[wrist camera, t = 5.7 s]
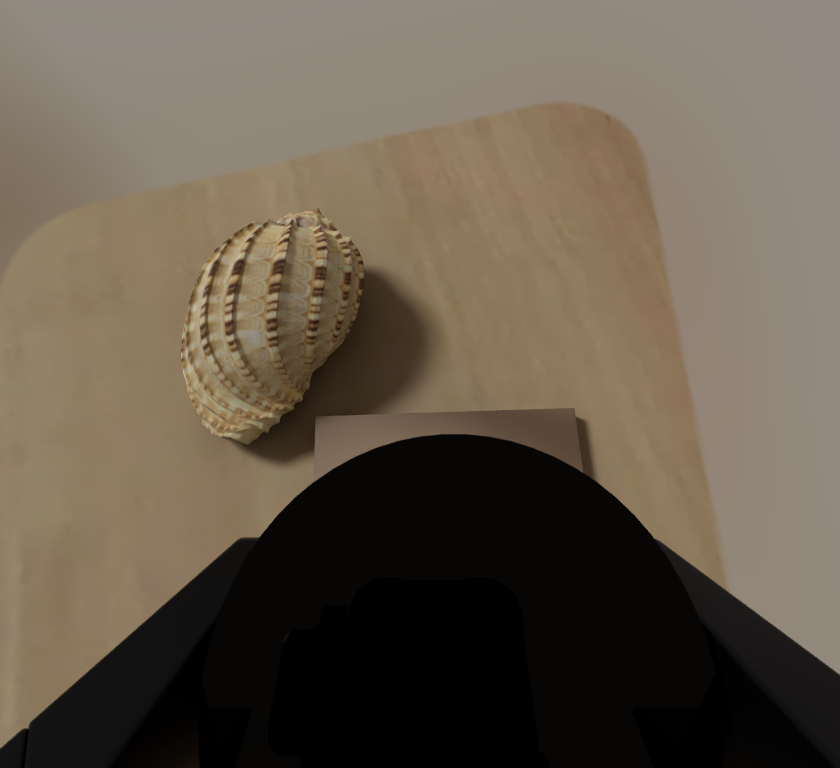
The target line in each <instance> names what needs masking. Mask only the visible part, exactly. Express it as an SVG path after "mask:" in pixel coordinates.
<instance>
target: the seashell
mask: <svg viewBox="0 0 840 768" xmlns="http://www.w3.org/2000/svg"><path fill="white" fill-rule="evenodd" d="M363 285H364V265H363V261H362V257H361V255H360V253H359V251H358V249H357V247H356V246H355V245H354V244H353V242H352V241H351V239H350V237H344V236H341V235H340V230H339V231H338V230H337V229H336V227H335V226H334V224H333V222H332V221H328V219H327V218H325V217H324V216H323V215H322V214H321V212H320V210H319V208H317V209H314V210H312V211H306V212H302V213H301V214H300V213H297V214H295V215H294V214H292V213H291V212H290V213H289V214H288V215H287V216H285V217H283V218H282V219H280V220H279V221H277V222H273V221H271V220H270V219H269V218H268V220H267V221H266V222H265V223H264V224H262V223H260V222H255V221H253V222H252V223H251V224H249V225H248V226H246V227H244V228H242V229H241V230H240V231H238V232H236V233H235V234H234V235H233V236H232V237H230V238H229V239H228V240H227V241H226V242H224V243H223V244H222V245H220V246H219V247H218V248H217V249H216V250H215V251H214V252H213V253H212V255H211V256H210V257H209V258H208V260H207V261H206V263H205V265H204V266H203V268H202V270H201V272H200V274H199V276H198V278H197V281H196V283H195V285H194V288H193V292H192V295H191V299H190V302H189V308H188V312H187V317H186V320H185V323H184V329H183V335H182V349H181V362H182V368H183V373H184V377H185V380H186V383H187V389H188V392H189V395H190V398H191V401H192V403H193V406H194V408H195V411H196V412H197V413H198V414H199V415H200V417H201V418H202V425H204V426H206V427H207V429H208V430H209V432H210V433H211V434H213V435H216V436H219V437H223V438H226V439H229V440H233V441H236V442H239V443H243V444H246V445H248V444H249V443H250V442H252V441H253V440H255V439H257V438H258V437H259V435H260V434H261V433H263V432H266V433H268V432H269V429H270V427H271V426H272V425H274V424H277V423H279V422H280V418H281V416H282V415H283V414H285V413H287V412H289V411H292V410H294V406H293V405H294V404H295V403H297V402H300V401H303V394H304V393H305V391H306V390H308V389H309V388H310V380H311V375H312V373H313V371H314V370H316V369H317V368H319V367H321V366H322V365H323V364H324V362H325V361H326V360H327V358H328V357H329V355H331V354H332V353H333V352H334V351H335V350H336V349H337V348H338V347H339V346H340V345H341V343H342V342H343V341H344V339H345V338H346V336H347V335H348V333H349V331H350V329H351V327H352V325H353V323H354V320H355V318H356V315H357V312H358V308H359V305H360V302H361V296H362V291H363Z"/></svg>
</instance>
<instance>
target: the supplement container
mask: <svg viewBox="0 0 840 768" xmlns="http://www.w3.org/2000/svg"><path fill="white" fill-rule="evenodd" d="M198 742H199V764H200V768H723V757H724V751H723V721H722V712H721V703H720V694H719V688H718V683H717V678H716V673H715V669H714V664H713V660H712V656H711V653H710V650H709V646H708V643H707V639H706V636H705V633H704V630H703V628H702V625H701V622H700V620H699V617H698V615H697V612H696V610H695V607H694V605H693V603H692V601H691V599H690V597H689V595H688V593H687V591H686V588H685V586H684V584H683V582H682V580H681V579H680V577H679V575H678V574H677V572H676V570H675V569H674V567H673V565H672V564H671V562H670V560H669V559H668V557H667V556H666V554H665V553H664V552H663V550H662V549H661V547H660V546H659V545H658V543H657V542H656V541H655V539H654V538H653V536H652V535H651V534H650V533H649V532H648V530H647V529H646V528H645V527H644V526H643V525H642V524H641V522H640V521H639V520H638V519H637V518H636V517H635V515H634V514H633V513H631V512H630V511H629V510H628V509H627V508H626V507H625V506H624V505H623V504H622V503H621V502H620V501H619V500H618V499H617V498H616V497H615V496H613V495H612V494H611V493H610V492H608V491H607V490H606V489H605V488H603V487H602V486H601V485H600V484H599V483H597V482H596V481H595V480H593V479H591V478H590V477H588V476H587V475H585V474H584V473H582V472H581V471H579V470H578V469H576V468H575V467H573V466H571V465H569V464H567V463H565V462H563V461H562V460H560V459H558V458H556V457H554V456H552V455H549V454H547V453H544V452H542V451H539V450H537V449H535V448H532V447H529V446H526V445H522V444H519V443H516V442H513V441H509V440H504V439H499V438H494V437H489V436H480V435H470V434H439V435H429V436H420V437H415V438H410V439H405V440H400V441H396V442H393V443H390V444H387V445H383V446H380V447H377V448H374V449H372V450H370V451H367V452H365V453H363V454H360V455H358V456H356V457H354V458H352V459H350V460H348V461H346V462H344V463H343V464H341V465H339V466H337V467H335V468H334V469H332V470H331V471H329V472H328V473H326V474H325V475H323V476H322V477H320V478H319V479H318V480H316V481H315V482H313V483H312V484H311V485H310V486H308V487H307V488H306V489H305V490H304V491H302V492H301V493H300V494H299V495H298V496H297V497H295V498H294V499H293V500H292V501H291V502H290V503H289V504H288V505H287V506H286V507H285V508H284V509H283V510H282V511H281V512H280V513H279V514H278V515H277V517H276V518H275V519H274V520H273V521H272V523H271V524H270V525H269V526H268V528H267V529H266V530H265V531H264V532H263V534H262V535H261V536H260V538H259V539H258V541H257V542H256V544H255V545H254V547H253V548H252V549H251V551H250V552H249V554H248V555H247V557H246V558H245V560H244V562H243V564H242V566H241V567H240V569H239V571H238V573H237V575H236V577H235V578H234V580H233V582H232V584H231V586H230V589H229V591H228V593H227V596H226V598H225V600H224V602H223V605H222V607H221V609H220V612H219V615H218V618H217V621H216V624H215V627H214V630H213V633H212V636H211V640H210V645H209V649H208V653H207V657H206V661H205V665H204V672H203V679H202V685H201V692H200V703H199V720H198Z"/></svg>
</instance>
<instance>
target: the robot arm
mask: <svg viewBox="0 0 840 768" xmlns="http://www.w3.org/2000/svg"><path fill="white" fill-rule="evenodd" d="M258 539H259V538H240V539H239V540H237V541H236V542H235V543H233V544H232V545H231V546H230V547H229V548H228V549H227V550H226V551H224V552H223V553H222V554H221V555H220V556H219V557H218V558H216V559H215V560H214V561H213V562H212V563H211V564H210V565H208V566H207V567H206V568H205V569H204V570H203V571H202V572H201V573H199V574H198V575H197V576H196V577H195V578H194V579H193V580H191V581H190V582H189V583H188V584H187V585H186V586H185V587H184V588H182V589H181V590H180V591H179V592H178V593H177V594H176V595H174V596H173V597H172V598H171V599H170V600H169V601H168V602H166V603H165V604H164V605H163V606H162V607H161V608H160V609H159V610H157V611H156V612H155V613H154V614H153V615H152V616H151V617H149V618H148V619H147V620H146V621H145V622H144V623H143V624H141V625H140V626H139V627H138V628H137V629H136V630H135V631H134V632H132V633H131V634H130V635H129V636H128V637H127V638H126V639H124V640H123V641H122V642H121V643H120V644H119V645H118V646H117V647H115V648H114V649H113V650H112V651H111V652H110V653H109V654H107V655H106V656H105V657H104V658H103V659H102V660H101V661H99V662H98V663H97V664H96V665H95V666H94V667H93V668H92V669H90V670H89V671H88V672H87V673H86V674H85V675H84V676H82V677H81V678H80V679H79V680H78V681H77V682H76V683H74V684H73V685H72V686H71V687H70V688H69V689H68V690H67V691H65V692H64V693H63V694H62V695H61V696H60V697H59V698H57V699H56V700H55V701H54V702H53V703H52V704H51V705H49V706H48V707H47V708H46V709H45V710H44V711H43V712H42V713H40V714H39V715H38V716H37V717H36V718H35V719H34V720H32V721H31V722H30V724H29V728H28V729H27V728H24V729H22V730H21V731H20V732H19V733H17V734H16V735H15V736H14V737H13V738H12V739H11V740H9V741H8V742H7V743H6V744H5V745H4V746H3V747H1V748H0V768H200V764H199V742H198V720H199V703H200V692H201V685H202V679H203V672H204V665H205V661H206V657H207V653H208V649H209V645H210V640H211V636H212V633H213V630H214V627H215V624H216V621H217V618H218V615H219V612H220V609H221V607H222V605H223V602H224V600H225V598H226V596H227V593H228V591H229V589H230V586H231V584H232V582H233V580H234V578H235V577H236V575H237V573H238V571H239V569H240V567H241V566H242V564H243V562H244V560H245V558H246V557H247V555H248V554H249V552H250V551H251V549H252V548H253V547H254V545H255V544H256V542H257V541H258ZM655 541H656V542H657V543H658V545H659V546H660V547H661V549H662V550H663V552H664V553H665V554H666V556H667V557H668V559H669V560H670V562H671V564H672V565H673V567H674V569H675V570H676V572H677V574H678V575H679V577H680V579H681V580H682V582H683V584H684V586H685V588H686V591H687V593H688V595H689V597H690V599H691V601H692V603H693V605H694V607H695V610H696V612H697V615H698V617H699V620H700V622H701V625H702V628H703V630H704V633H705V636H706V639H707V643H708V646H709V650H710V653H711V656H712V660H713V664H714V669H715V673H716V678H717V683H718V688H719V694H720V703H721V712H722V721H723V751H724V757H723V768H840V674H838V673H837V672H836V671H834V670H833V669H831V668H830V667H829V666H827V665H826V664H825V663H823V662H822V661H821V660H819V659H818V658H817V657H815V656H814V655H813V654H811V653H810V652H809V651H807V650H806V649H805V648H803V647H802V646H800V645H799V644H798V643H796V642H795V641H794V640H792V639H791V638H790V637H788V636H787V635H786V634H784V633H783V632H782V631H780V630H779V629H778V628H776V627H775V626H773V625H772V624H771V623H769V622H768V621H767V620H765V619H764V618H763V617H761V616H760V615H759V614H757V613H756V612H755V611H753V610H752V609H750V608H749V607H748V606H746V605H745V604H744V603H742V602H741V601H740V600H738V599H737V598H736V597H734V596H733V595H732V594H730V593H729V592H728V591H726V590H725V589H724V588H722V587H721V586H720V585H718V584H717V583H716V582H714V581H713V580H712V579H710V578H709V577H707V576H706V575H705V574H703V573H702V572H701V571H699V570H698V569H697V568H695V567H694V566H693V565H691V564H690V563H689V562H687V561H686V560H685V559H683V558H682V557H681V556H679V555H678V554H676V553H675V552H674V551H672V550H671V549H670V548H668V547H667V546H666V545H664V544H663V543H662V542H660V541H659V540H657V539H655Z"/></svg>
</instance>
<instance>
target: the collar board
mask: <svg viewBox="0 0 840 768" xmlns="http://www.w3.org/2000/svg"><path fill="white" fill-rule="evenodd" d="M439 434H470V435H480V436H489V437H494V438H499V439H504V440H509V441H513V442H516V443H519V444H522V445H526V446H529V447H532V448H535V449H537V450H539V451H542V452H544V453H547V454H549V455H552V456H554V457H556V458H558V459H560V460H562V461H563V462H565V463H567V464H569V465H571V466H573V467H575V468H576V469H578V470H579V471H581V472H582V473H583V466H582V459H581V452H580V445H579V438H578V430H577V423H576V416H575V409H574V408H563V409H532V410H501V411H470V412H438V413H407V414H376V415H345V416H316V421H315V451H314V480H313V482H315V481H316V480H318V479H319V478H320V477H322V476H323V475H325V474H326V473H328V472H329V471H331V470H332V469H334V468H335V467H337V466H339V465H341V464H343V463H344V462H346V461H348V460H350V459H352V458H354V457H356V456H358V455H360V454H363V453H365V452H367V451H370V450H372V449H374V448H377V447H380V446H383V445H387V444H390V443H393V442H396V441H400V440H405V439H410V438H415V437H420V436H429V435H439Z"/></svg>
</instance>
